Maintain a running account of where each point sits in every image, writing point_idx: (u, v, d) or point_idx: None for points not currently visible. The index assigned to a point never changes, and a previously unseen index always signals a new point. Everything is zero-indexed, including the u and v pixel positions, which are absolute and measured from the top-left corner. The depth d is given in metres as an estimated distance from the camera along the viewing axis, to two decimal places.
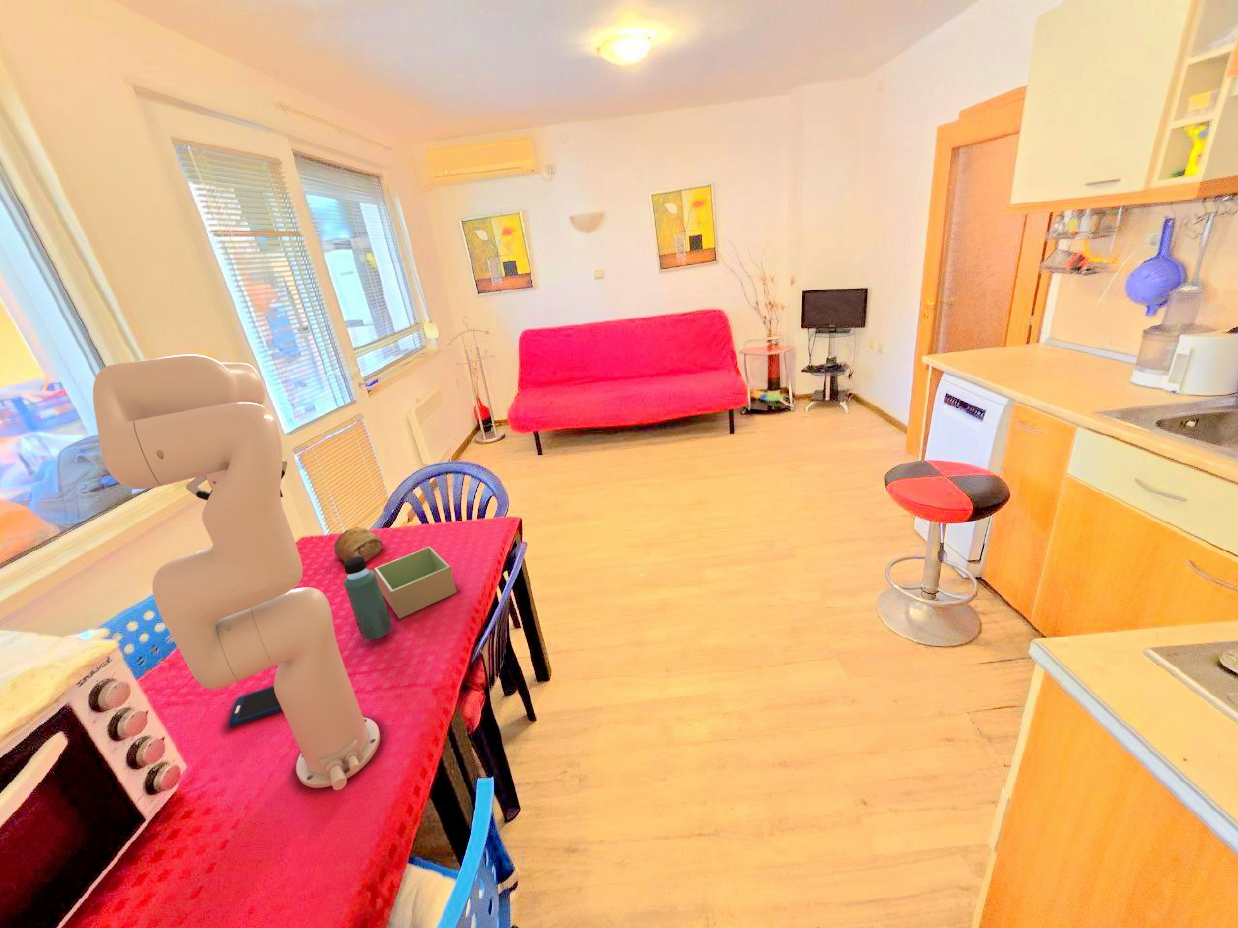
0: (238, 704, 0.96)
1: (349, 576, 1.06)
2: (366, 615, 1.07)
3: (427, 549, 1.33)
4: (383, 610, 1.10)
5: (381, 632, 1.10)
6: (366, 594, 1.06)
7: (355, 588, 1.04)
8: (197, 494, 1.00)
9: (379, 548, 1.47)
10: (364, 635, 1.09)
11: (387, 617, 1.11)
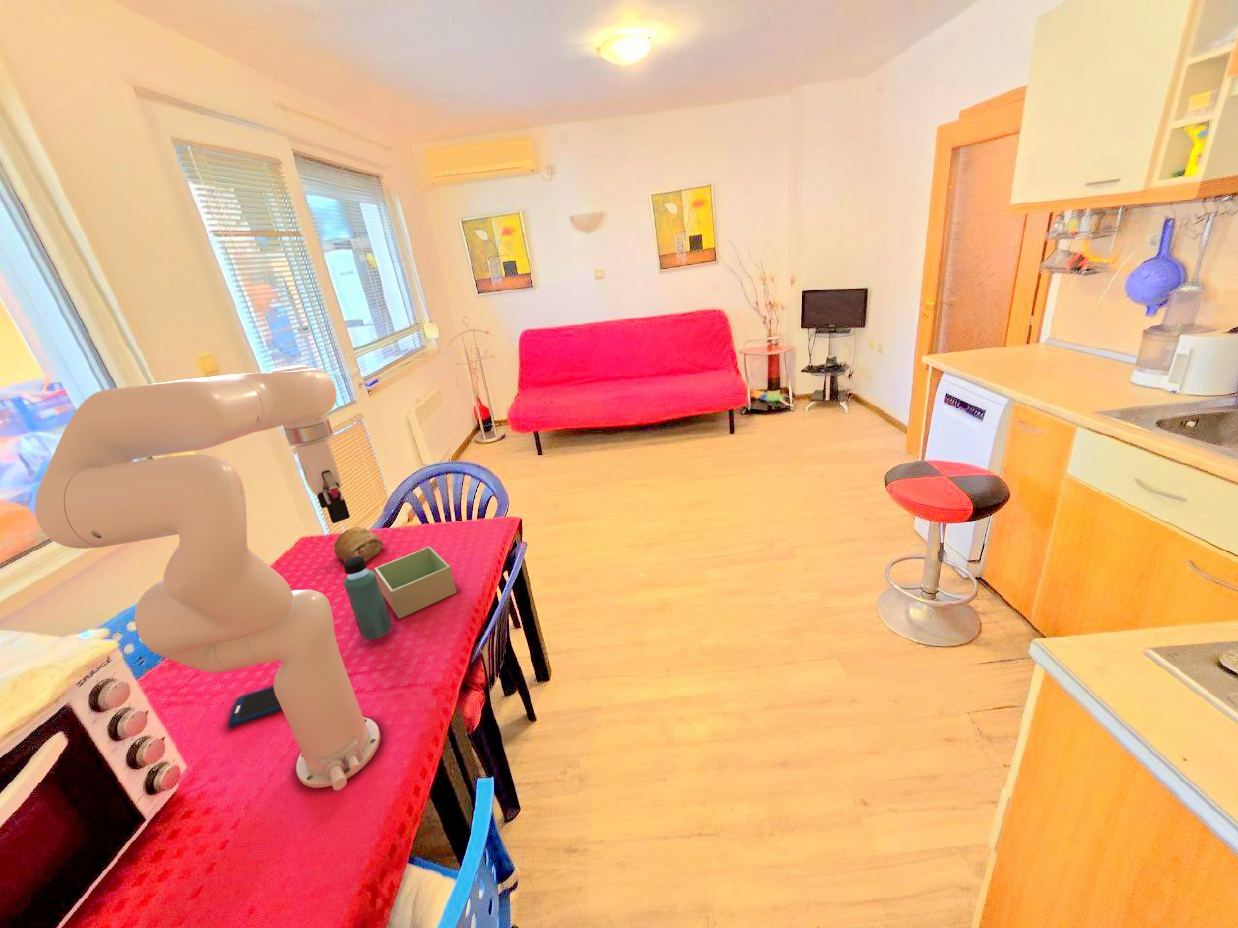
0: (238, 704, 0.96)
1: (349, 576, 1.06)
2: (366, 615, 1.07)
3: (427, 549, 1.33)
4: (383, 610, 1.10)
5: (381, 632, 1.10)
6: (366, 594, 1.06)
7: (355, 588, 1.04)
8: None
9: (379, 548, 1.47)
10: (364, 635, 1.09)
11: (387, 617, 1.11)
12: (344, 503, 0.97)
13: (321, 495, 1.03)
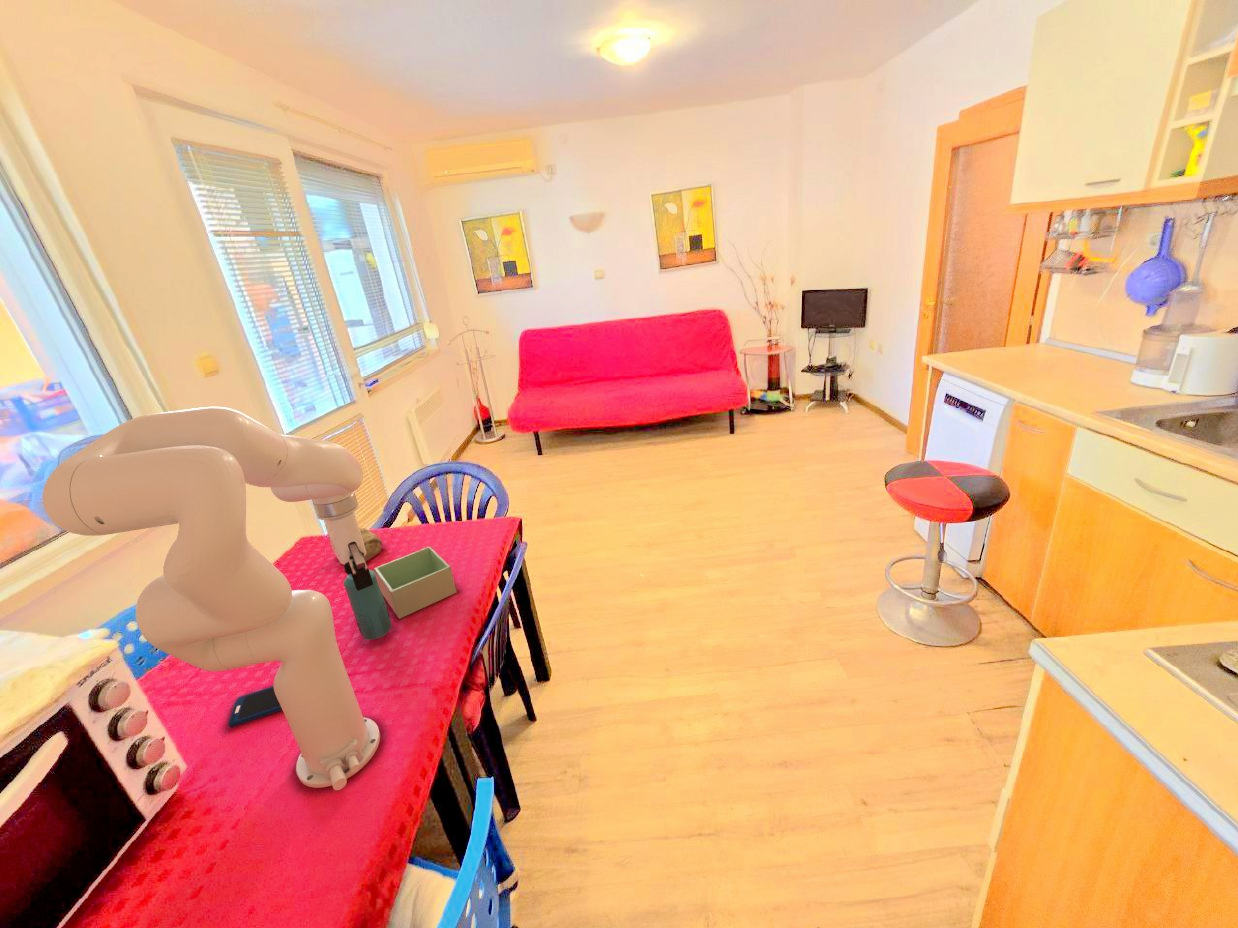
0: (238, 704, 0.96)
1: (349, 576, 1.06)
2: (366, 615, 1.07)
3: (427, 549, 1.33)
4: (383, 610, 1.10)
5: (381, 632, 1.10)
6: (366, 594, 1.06)
7: (355, 588, 1.04)
8: None
9: (379, 548, 1.47)
10: (364, 635, 1.09)
11: (387, 617, 1.11)
12: (368, 571, 1.04)
13: None
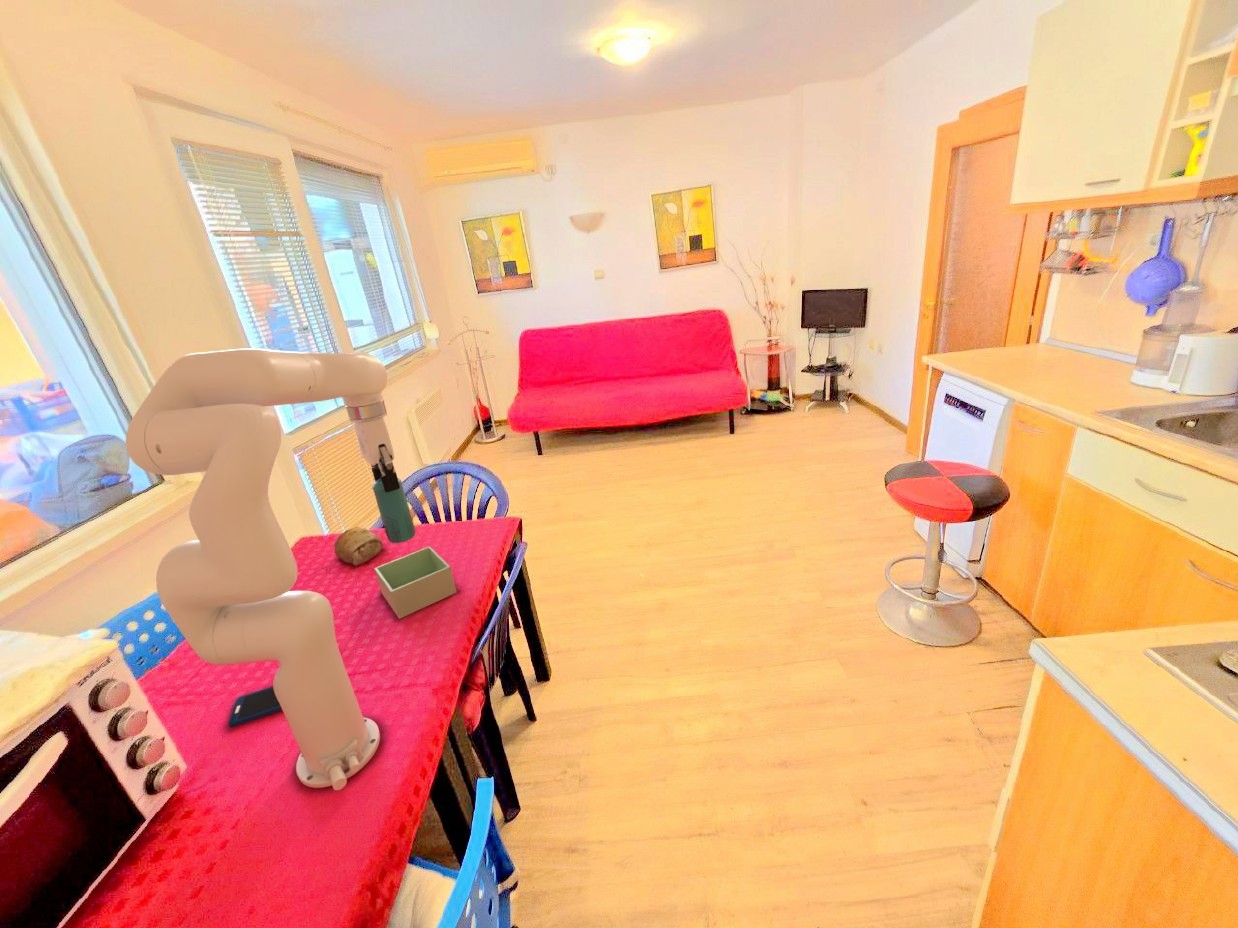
0: (238, 704, 0.96)
1: (377, 481, 1.14)
2: (393, 518, 1.15)
3: (427, 549, 1.33)
4: (408, 515, 1.18)
5: (406, 536, 1.18)
6: (393, 497, 1.14)
7: (384, 491, 1.13)
8: None
9: (379, 548, 1.47)
10: (390, 538, 1.18)
11: (411, 523, 1.20)
12: (395, 475, 1.12)
13: None
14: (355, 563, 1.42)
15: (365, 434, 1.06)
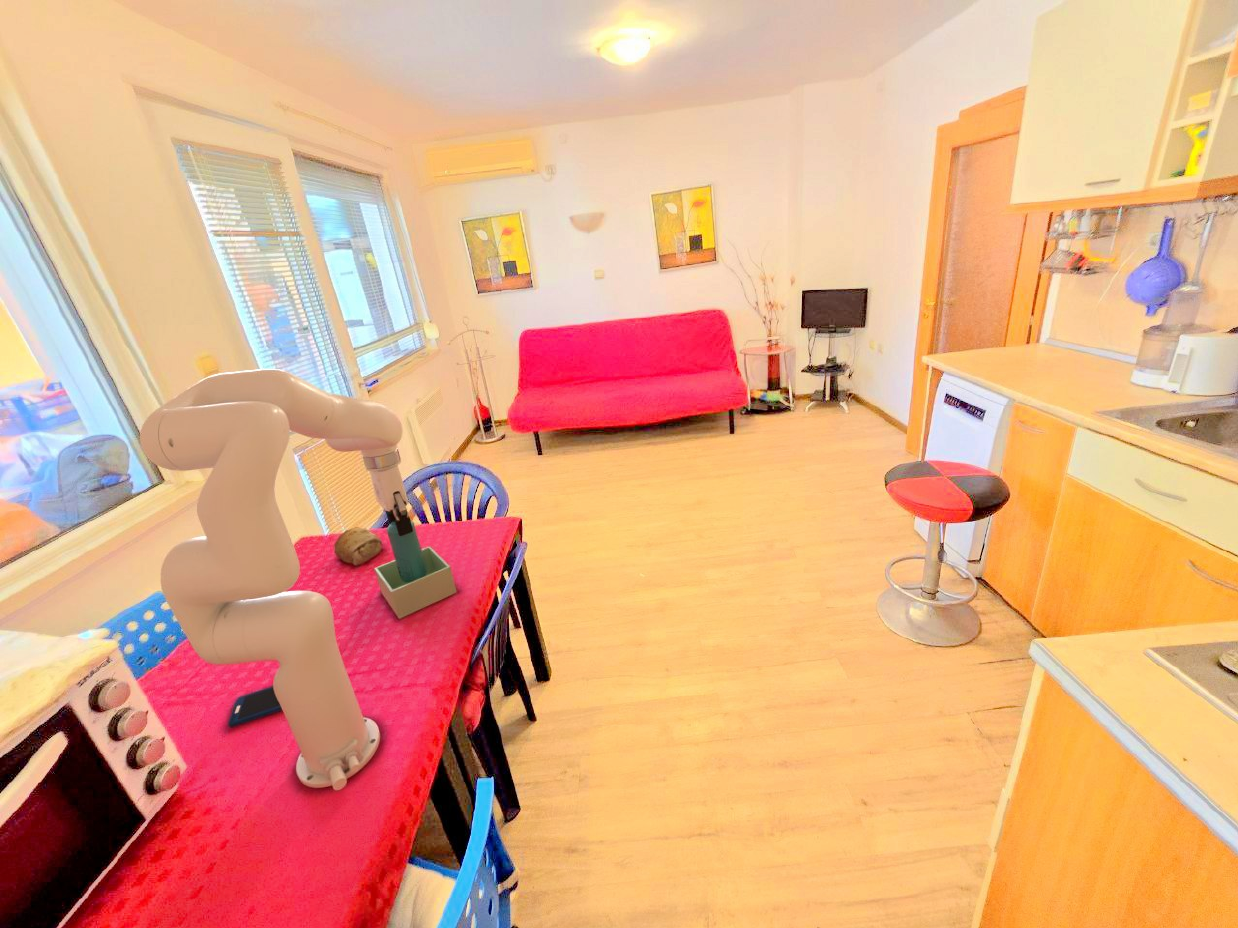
0: (238, 704, 0.96)
1: (391, 524, 1.19)
2: (406, 559, 1.20)
3: (427, 549, 1.33)
4: (420, 556, 1.23)
5: (419, 576, 1.23)
6: (407, 540, 1.19)
7: None
8: None
9: (379, 548, 1.47)
10: (404, 578, 1.22)
11: (424, 563, 1.24)
12: (409, 519, 1.17)
13: None
14: (355, 563, 1.42)
15: (381, 482, 1.11)
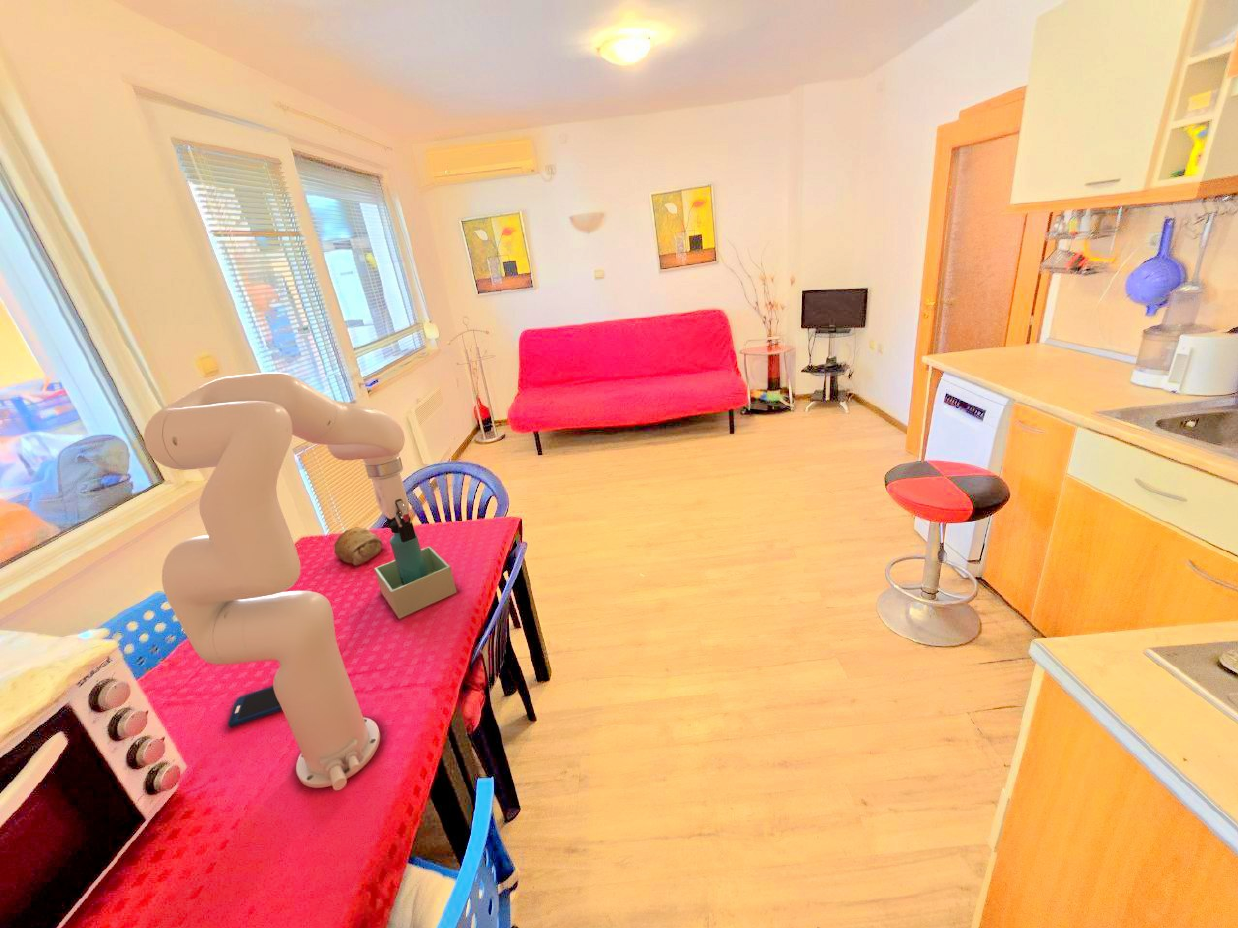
0: (238, 704, 0.96)
1: (394, 535, 1.20)
2: (409, 570, 1.21)
3: (427, 549, 1.33)
4: (423, 567, 1.24)
5: None
6: (410, 551, 1.20)
7: (401, 545, 1.18)
8: None
9: (379, 548, 1.47)
10: None
11: (426, 573, 1.25)
12: (412, 525, 1.16)
13: None
14: (355, 563, 1.42)
15: (383, 490, 1.11)
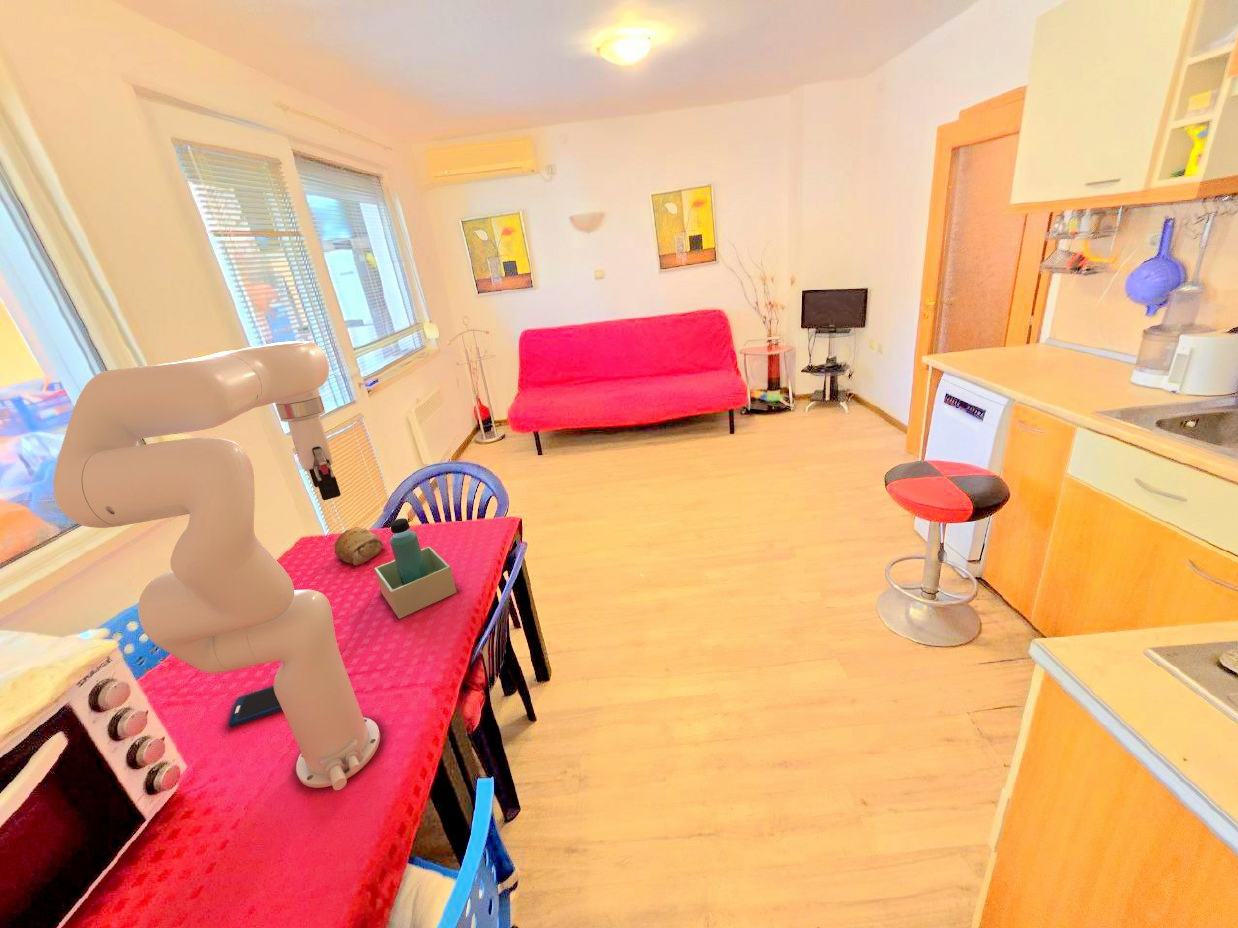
0: (238, 704, 0.96)
1: (394, 535, 1.20)
2: (409, 570, 1.21)
3: (427, 549, 1.33)
4: (423, 567, 1.24)
5: None
6: (410, 551, 1.20)
7: (401, 545, 1.18)
8: None
9: (379, 548, 1.47)
10: None
11: (426, 573, 1.25)
12: (335, 480, 0.97)
13: (314, 474, 1.03)
14: (355, 563, 1.42)
15: (296, 435, 0.92)
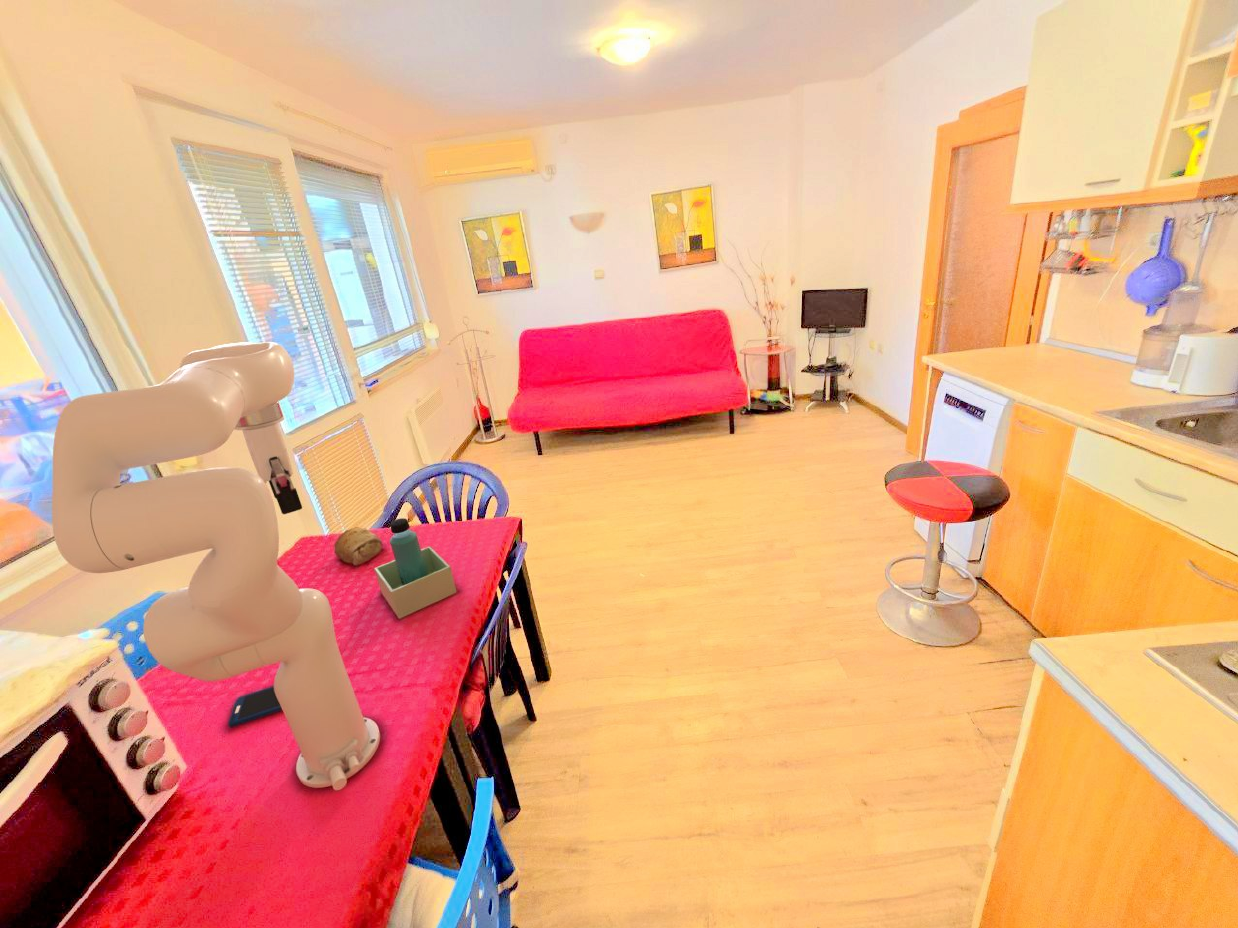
0: (238, 704, 0.96)
1: (394, 535, 1.20)
2: (409, 570, 1.21)
3: (427, 549, 1.33)
4: (423, 567, 1.24)
5: None
6: (410, 551, 1.20)
7: (401, 545, 1.18)
8: None
9: (379, 548, 1.47)
10: None
11: (426, 573, 1.25)
12: (296, 492, 0.90)
13: None
14: (355, 563, 1.42)
15: (250, 445, 0.85)
